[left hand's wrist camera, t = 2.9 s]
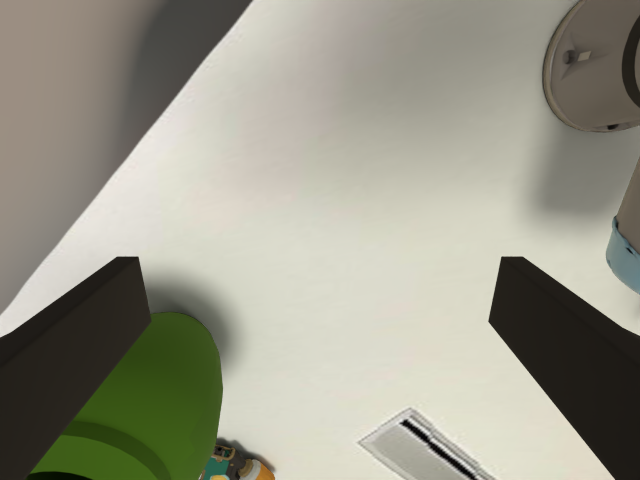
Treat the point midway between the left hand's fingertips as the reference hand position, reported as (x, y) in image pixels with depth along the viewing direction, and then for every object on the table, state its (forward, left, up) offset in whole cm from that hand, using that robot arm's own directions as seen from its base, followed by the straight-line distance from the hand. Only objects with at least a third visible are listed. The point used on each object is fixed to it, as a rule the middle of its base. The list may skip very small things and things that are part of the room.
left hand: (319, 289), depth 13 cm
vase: (+33, +3, -32) cm, 46 cm away
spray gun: (+51, +28, -32) cm, 66 cm away
